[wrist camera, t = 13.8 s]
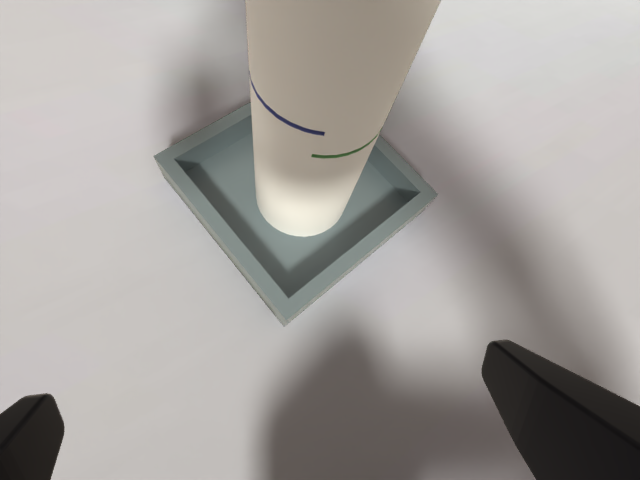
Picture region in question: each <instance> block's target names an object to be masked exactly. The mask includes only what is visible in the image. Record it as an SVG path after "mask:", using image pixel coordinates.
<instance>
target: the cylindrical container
mask: <svg viewBox="0 0 640 480" xmlns="http://www.w3.org/2000/svg"><path fill="white" fill-rule="evenodd" d="M440 2H441V0H245V5H246V23H247V42H248V61H249V79H250V97H251V115H252V133H253V151H254V170H255V189H256V200H257V205H258V207H259V210H260V212H261V214H262V215H263V217H264V218H265V220H266V221H267V222H268V223H269V224H271V225H272V226H273V227H274V228H276V229H277V230H279V231H281V232H283V233H286V234H288V235H293V236H302V237H307V236H314V235H317V234H320V233H323V232H325V231H326V230H328V229H330V228H331V227H332V226H333V225H334V224H335V223H336V222H337V221H338V220H339V218H340V217H341V215H342V213H343V211H344V209H345V207H346V205H347V203H348V200H349V198H350V196H351V194H352V192H353V190H354V187H355V185H356V183H357V181H358V179H359V177H360V175H361V172H362V170H363V168H364V166H365V164H366V162H367V159H368V157H369V155H370V153H371V151H372V149H373V146H374V144H375V142H376V140H377V138H378V136H379V134H380V131H381V129H382V127H383V125H384V123H385V121H386V118H387V116H388V114H389V112H390V110H391V108H392V105H393V103H394V101H395V99H396V97H397V95H398V92H399V90H400V88H401V86H402V84H403V82H404V80H405V77H406V75H407V73H408V71H409V69H410V67H411V64H412V62H413V60H414V58H415V56H416V54H417V51H418V49H419V47H420V45H421V43H422V41H423V38H424V36H425V34H426V32H427V30H428V28H429V26H430V23H431V21H432V19H433V17H434V15H435V13H436V10H437V8H438V6H439V4H440Z"/></svg>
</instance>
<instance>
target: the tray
mask: <svg viewBox="0 0 640 480" xmlns="http://www.w3.org/2000/svg"><path fill="white" fill-rule="evenodd" d="M154 158H155V160H156V162H157V164H158V166H159V168H160V170H161V172H162V174H163V176H164V178H165V179H166V180H167V181H168V183H169V184H170V185H171V186H172V188H173V189H174V190H175V191H176V193H177V194H178V195H179V196H180V198H181V199H182V200H183V201H184V203H185V204H186V205H187V206H188V208H189V209H190V210H191V211H192V213H193V214H194V215H195V216H196V218H197V219H198V220H199V221H200V223H201V224H202V225H203V226H204V228H205V229H206V230H207V231H208V233H209V234H210V235H211V236H212V238H213V239H214V240H215V241H216V242H217V244H218V245H219V246H220V247H221V249H222V250H223V251H224V252H225V254H226V255H227V256H228V257H229V259H230V260H231V261H232V262H233V264H234V265H235V266H236V267H237V269H238V270H239V271H240V272H241V274H242V275H243V276H244V277H245V279H246V280H247V281H248V282H249V284H250V285H251V286H252V287H253V289H254V290H255V291H256V292H257V294H258V295H259V296H260V297H261V299H262V300H263V301H264V302H265V304H266V305H267V306H268V307H269V309H270V310H271V311H272V312H273V313H274V315H275V316H276V317H277V318H278V320H279V321H280V322H281V323H282V325H283V326H286V325H287V324H288V323H289V322H290V321H292V320H293V319H294V318H295V317H296V316H298V315H299V314H300V313H301V312H302V311H304V310H305V309H306V308H307V307H308V306H310V305H311V304H312V303H313V302H314V301H316V300H317V299H318V298H319V297H320V296H322V295H323V294H324V293H325V292H326V291H328V290H329V289H330V288H331V287H332V286H334V285H335V284H336V283H337V282H338V281H340V280H341V279H342V278H343V277H344V276H346V275H347V274H348V273H349V272H350V271H352V270H353V269H354V268H355V267H356V266H358V265H359V264H360V263H361V262H362V261H364V260H365V259H366V258H367V257H368V256H370V255H371V254H372V253H373V252H374V251H376V250H377V249H378V248H379V247H380V246H382V245H383V244H384V243H385V242H387V241H388V240H389V239H390V238H391V237H393V236H394V235H395V234H396V233H397V232H399V231H400V230H401V229H402V228H403V227H405V226H406V225H407V224H408V223H409V222H411V221H412V220H413V219H414V218H415V217H417V216H418V215H419V214H420V213H421V212H423V211H424V210H425V208H426V207H427V206H428V205H429V204H430V203H431V202H432V201H433V200H434V199H435V198H436V197H437V196H438V194H437V193H436V192H435V191H434V190H433V189H432V188H431V187H430V186H429V185H428V184H427V182H426V181H425V180H424V179H423V178H422V177H421V176H420V175H419V174H418V173H417V172H416V171H415V170H414V169H413V168H412V167H411V166H410V165H409V164H408V163H407V162H406V161H405V160H404V159H403V158H402V157H401V156H400V155H399V154H398V153H397V152H396V151H395V150H394V149H393V148H392V147H391V146H390V145H389V144H388V143H387V142H386V141H385V140H384V139H383V138H382V137H381V136H380V135H379V136H378V138H377V140H376V142H375V144H374V146H373V149H372V151H371V153H370V155H369V157H368V159H367V162H366V164H365V166H364V168H363V170H362V172H361V175H360V177H359V179H358V181H357V183H356V185H355V187H354V190H353V192H352V194H351V196H350V198H349V200H348V203H347V205H346V207H345V209H344V211H343V213H342V215H341V217H340V218H339V220H338V221H337V222H336V223H335V224H334V225H333V226H332V227H331V228H330V229H328V230H326V231H325V232H323V233H320V234H317V235H314V236H307V237H302V236H293V235H288V234H286V233H283V232H281V231H279V230H277V229H276V228H274V227H273V226H272V225H271V224H269V223H268V222H267V221H266V220H265V218H264V217H263V215H262V214H261V212H260V210H259V207H258V205H257V200H256V189H255V170H254V151H253V133H252V115H251V102H250V103H248V104H246V105H244V106H243V107H241V108H239V109H237V110H235V111H234V112H232V113H230V114H228V115H226V116H225V117H223V118H221V119H219V120H218V121H216V122H214V123H212V124H210V125H209V126H207V127H205V128H203V129H201V130H200V131H198V132H196V133H194V134H192V135H191V136H189V137H187V138H185V139H183V140H182V141H180V142H178V143H176V144H174V145H173V146H171V147H169V148H167V149H165V150H164V151H162V152H160V153H158V154H157V155H155V156H154Z"/></svg>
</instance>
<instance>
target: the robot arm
mask: <svg viewBox="0 0 640 480" xmlns="http://www.w3.org/2000/svg"><path fill="white" fill-rule="evenodd" d="M482 377H483V380H484V382H485V384H486V386H487V388H488V390H489V392H490V394H491V396H492V398H493V400H494V402H495V405H496V407H497V409H498V411H499V413H500V415H501V417H502V419H503V421H504V423H505V425H506V427H507V429H508V431H509V433H510V435H511V437H512V439H513V441H514V443H515V445H516V446H517V448H518V450H519V452H520V453H521V455H522V457H523V458H524V460H525V462H526V463H527V465H528V467H529V468H530V470H531V472H532V473H533V475H534V477H535V478H536V480H640V406H638V405H636V404H634V403H632V402H630V401H628V400H626V399H624V398H622V397H620V396H618V395H616V394H614V393H612V392H610V391H609V390H607V389H605V388H603V387H601V386H599V385H597V384H595V383H593V382H591V381H589V380H587V379H585V378H583V377H581V376H579V375H577V374H575V373H573V372H571V371H569V370H567V369H565V368H563V367H561V366H559V365H557V364H555V363H553V362H551V361H549V360H547V359H545V358H543V357H541V356H539V355H537V354H535V353H533V352H531V351H529V350H527V349H525V348H523V347H521V346H519V345H518V344H516V343H514V342H512V341H509V340H499V341H492V342H490V343H489V344H488V346H487V350H486V353H485V357H484V361H483V365H482ZM63 436H64V422H63V419H62V417H61V414H60V412H59V409H58V407H57V404H56V401H55V399H54V397H53V396H52V395H51V394H47V393H45V394H37V395H29V396H25V397H23V398H21V399H20V400H18V401H17V402H16V403H14V404H13V405H12V406H10V407H9V408H8V409H6V410H5V411H4V412H2V413H1V414H0V480H50V479H51V476H52V473H53V470H54V466H55V463H56V460H57V456H58V453H59V450H60V446H61V443H62V440H63Z"/></svg>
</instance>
